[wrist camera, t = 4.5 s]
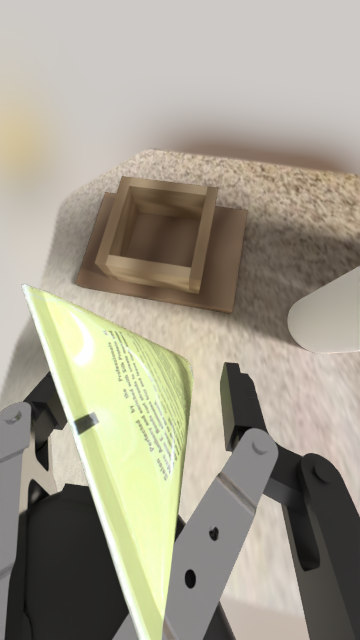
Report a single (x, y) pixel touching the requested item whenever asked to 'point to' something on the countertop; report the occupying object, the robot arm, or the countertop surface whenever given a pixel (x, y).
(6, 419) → the robot arm
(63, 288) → the countertop surface
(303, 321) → the cylindrical container
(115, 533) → the tube
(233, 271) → the wooden box on board
